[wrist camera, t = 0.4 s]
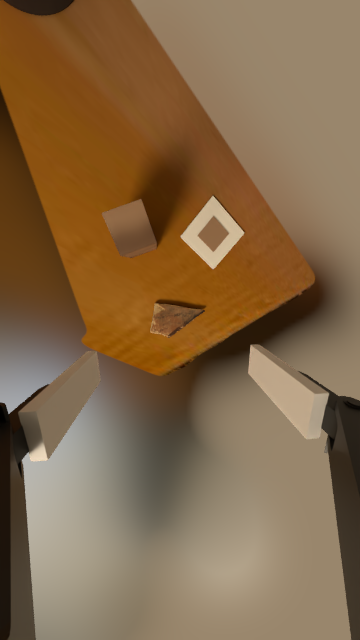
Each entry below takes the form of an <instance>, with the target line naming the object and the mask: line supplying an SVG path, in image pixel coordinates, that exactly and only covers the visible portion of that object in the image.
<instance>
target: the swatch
mask: <svg viewBox="0 0 360 640" xmlns="http://www.w3.org/2000/svg"><path fill="white" fill-rule="evenodd" d="M243 234H244V232H243V230H242V229H241V228H240V227H239V226H238V225H237V223H236V222H235V221H234V220H233V219H232V217H231V216H230V215H229V214H228V213H227V212H226V210H225V209H224V208H223V207H222V206H221V204H220V203H219V202H218V201H217V200H216V199H215V197H214V196H212V197H211V199H210V200H209V201H208V202H207V204H206V205H205V206H204V208H203V209H202V210H201V211H200V213H199V214H198V215H197V216H196V218H195V219H194V220H193V221H192V223H191V224H190V225H189V227H188V228H187V229H186V230H185V232H184V233H183V234H182V235H181V238H182V239H183V240H184V241H185V242H186V243H187V244H188V245H189V246H190V247H191V248H192V249H193V250H194V251H195V252H196V253H197V254H198V255H199V256H200V257H201V258H202V259H203V260H204V261H205V262H206V263H207V264H208V265H209V266H210V267H211V268H212V269H214V268H215V267H216V266H217V264H218V263H219V262H220V261H221V260H222V259H223V257H224V256H225V255H226V254H227V253H228V252H229V250H230V249H231V248H232V247H233V246H234V245H235V244H236V242H237V241H238V240H239V239H240V238H241V237H242V235H243Z"/></svg>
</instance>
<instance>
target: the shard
mask: <svg viewBox="0 0 360 640" xmlns="http://www.w3.org/2000/svg"><path fill="white" fill-rule="evenodd" d="M204 311H205V310H202V309H191V308H186V307H181V306H176V305H169V304H159V303H155V306H154V313H153V321H152V325H151V333H156V334H162V335H164V336H167V337H168V338H170V337H171V336H172V335H174V334H175V333H176V332H177V331H179V330H181V329H182V328H183V327H185V326H186V325H187V324H189V323H190V322H191V321H192V320H194V319H195V318H196V317H197V316H198V315H200V314H202V313H203V312H204Z"/></svg>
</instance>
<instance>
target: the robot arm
mask: <svg viewBox="0 0 360 640" xmlns="http://www.w3.org/2000/svg"><path fill="white" fill-rule="evenodd" d="M4 1H5V2H7V3H8V4H10V5H11V6H13V7H15V8H17V9H19V10H21V11H24V12H26V13H30V14H34V15H51V14H55V13H57V12H60V11H61V10H63V9H65V8H66V7H67V6H68V5H69V4H70V3H71V2H72V1H73V0H4ZM248 373H249V375H250V376H251V377H252V378H253V379H254V380H255V382H256V383H257V384H258V385H259V386H260V387H261V388H262V389H263V391H264V392H265V393H266V394H267V395H268V396H269V397H270V399H271V400H272V401H273V402H274V403H275V404H276V405H277V407H278V408H279V409H280V410H281V411H282V412H283V413H284V414H285V416H286V417H287V418H288V419H289V420H290V421H291V423H292V424H293V425H294V426H295V427H296V428H297V429H298V431H299V432H300V433H301V434H302V435H303V436H304V437H305V439H315V438H320V433H321V429H323V430H324V431H325V432H326V433H327V434H328V438H327V442H326V446H325V451H324V452H325V453H327V452H328V454H329V462H330V470H331V478H332V486H333V494H334V502H335V510H336V518H337V526H338V535H339V543H340V550H341V558H342V566H343V574H344V582H345V590H346V599H347V606H348V615H349V623H350V631H351V640H360V401H359V400H356V399H354V398H351V397H346V396H338V395H336V394H335V393H333V392H332V391H330V390H329V389H327V388H326V387H324V386H323V385H321V384H319V383H318V382H317V381H315V380H313V379H312V378H311V377H309V376H308V375H306V374H304V373H302V372H299V371H296V370H295V369H294V368H292V367H291V366H289V365H288V364H286V363H285V362H284V361H282V360H281V359H279V358H278V357H276V356H275V355H273V354H272V353H271V352H269V351H268V350H266V349H265V348H263V347H262V346H260V345H251V348H250V360H249V371H248ZM100 381H101V380H100V372H99V364H98V357H97V351H89V352H88V351H87V352H86V353H85V354H84V355H83V356H82V357H80V358H79V359H78V360H77V361H76V362H75V363H73V364H72V365H71V366H70V367H69V368H68V369H67V370H66V371H64V372H63V373H62V374H61V375H60V376H59V377H58V378H56V380H54V381H53V382H52V383H51V384H48V385H45V386H44V387H42V388H40V389H38V390H37V391H36V392H35V393H33V394H32V395H31V397H29V398H27V399H26V400H25V402H23V403H22V404H20V405H19V406H18V407H17V408H16V409H15V410H13V411H12V412H11V413H10V414H8V411H7V408H6V405H5V403H0V640H36V638H35V624H34V612H33V611H34V610H33V597H32V583H31V570H30V555H29V541H28V528H27V513H26V499H25V485H24V471H23V464H22V459H23V458H24V456H25V455H26V454H27V453H28V452H29V456H30V459H31V461H43V460H48V459H49V458H50V456H51V455H52V453H53V452H54V450H55V449H56V447H57V446H58V444H59V443H60V441H61V440H62V438H63V437H64V435H65V433H66V432H67V430H68V429H69V428H70V426H71V425H72V423H73V422H74V420H75V419H76V417H77V416H78V414H79V413H80V411H81V410H82V408H83V407H84V405H85V404H86V402H87V401H88V399H89V398H90V396H91V395H92V393H93V392H94V390H95V389H96V387H97V385H98V384H99V383H100Z"/></svg>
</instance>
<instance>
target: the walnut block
mask: <svg viewBox="0 0 360 640" xmlns="http://www.w3.org/2000/svg"><path fill="white" fill-rule="evenodd" d="M102 215H103V217H104V220H105V222H106V224H107V226H108V229H109V231H110V233H111V235H112V238H113V240H114V242H115V245H116V247H117V249H118V251H119V254H120V256H125V257H130V258H132V257H135V256H138V255H141V254H143V253H146V252H149V251H152V250H154V249H156V247H157V242H156V239H155V236H154V233H153V230H152V228H151V225H150V222H149V219H148V216H147V214H146V211H145V208H144V205H143V203H142V200H141V199H139V200H137V201H134V202H131V203H128V204H126V205H123V206H120V207H117V208H115V209H112V210H109V211H106V212H103V213H102Z"/></svg>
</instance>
